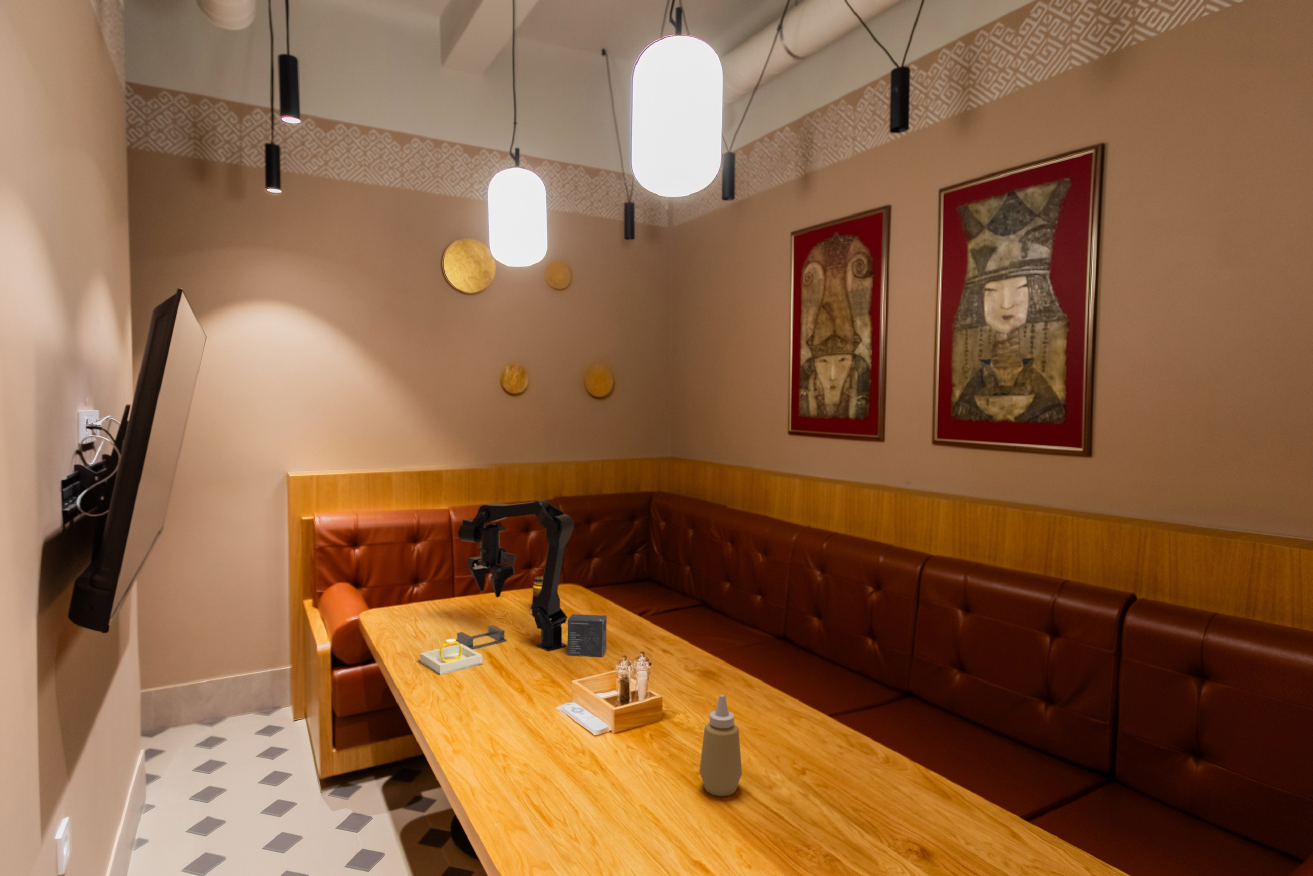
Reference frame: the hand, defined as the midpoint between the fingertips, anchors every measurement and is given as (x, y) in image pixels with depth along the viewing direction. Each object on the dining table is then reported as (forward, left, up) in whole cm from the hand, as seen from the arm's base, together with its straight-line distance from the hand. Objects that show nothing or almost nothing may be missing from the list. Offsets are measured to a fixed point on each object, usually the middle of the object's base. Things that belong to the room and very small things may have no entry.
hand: (489, 594), depth 223 cm
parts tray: (-15, +20, -13) cm, 28 cm away
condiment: (+11, -27, -13) cm, 32 cm away
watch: (-14, +20, -13) cm, 28 cm away
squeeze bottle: (-108, +11, -13) cm, 109 cm away
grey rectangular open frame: (-4, +5, -13) cm, 14 cm away
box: (-32, -14, -13) cm, 37 cm away
